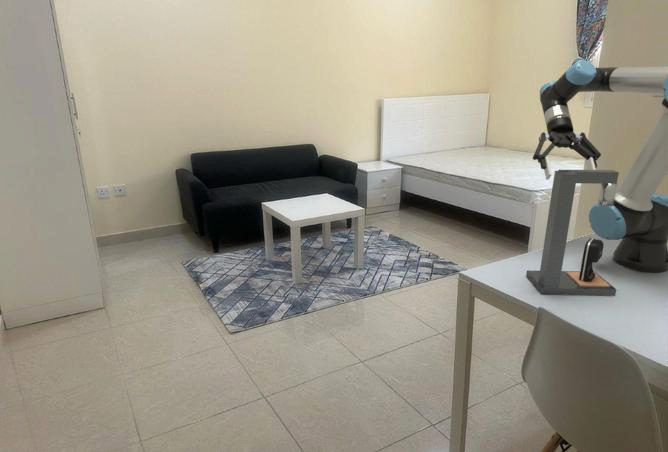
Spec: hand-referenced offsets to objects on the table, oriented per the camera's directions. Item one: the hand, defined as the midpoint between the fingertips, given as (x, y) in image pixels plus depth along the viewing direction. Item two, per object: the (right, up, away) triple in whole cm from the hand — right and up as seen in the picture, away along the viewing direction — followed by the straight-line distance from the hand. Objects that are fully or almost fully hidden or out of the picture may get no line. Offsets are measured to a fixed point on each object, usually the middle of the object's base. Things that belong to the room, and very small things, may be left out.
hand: (571, 177), depth 142 cm
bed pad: (-1, -31, -11) cm, 32 cm away
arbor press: (-6, -32, -10) cm, 34 cm away
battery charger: (-1, -30, -11) cm, 32 cm away
